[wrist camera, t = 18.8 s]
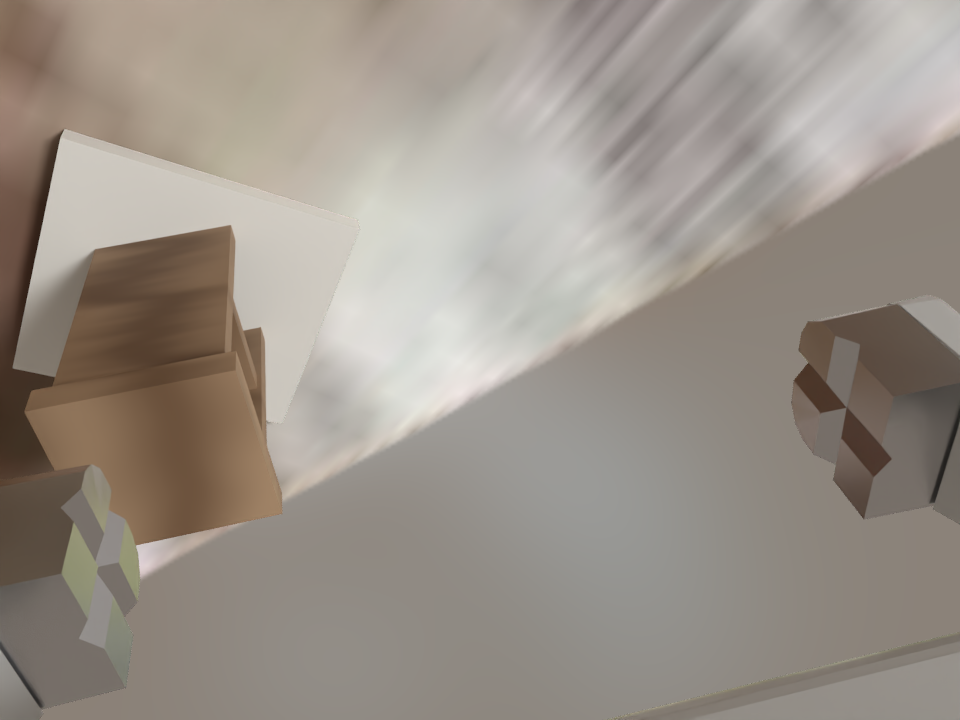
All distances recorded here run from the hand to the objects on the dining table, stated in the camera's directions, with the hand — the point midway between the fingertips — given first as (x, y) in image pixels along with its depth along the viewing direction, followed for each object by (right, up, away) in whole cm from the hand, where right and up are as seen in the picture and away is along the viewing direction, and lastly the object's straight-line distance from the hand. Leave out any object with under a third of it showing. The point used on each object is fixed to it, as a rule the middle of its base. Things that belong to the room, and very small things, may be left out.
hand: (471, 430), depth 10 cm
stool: (-14, +4, +31) cm, 34 cm away
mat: (-14, +4, +32) cm, 35 cm away
